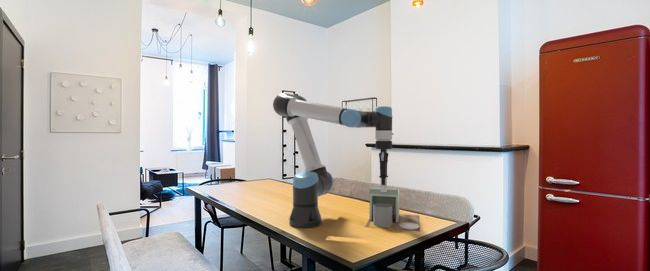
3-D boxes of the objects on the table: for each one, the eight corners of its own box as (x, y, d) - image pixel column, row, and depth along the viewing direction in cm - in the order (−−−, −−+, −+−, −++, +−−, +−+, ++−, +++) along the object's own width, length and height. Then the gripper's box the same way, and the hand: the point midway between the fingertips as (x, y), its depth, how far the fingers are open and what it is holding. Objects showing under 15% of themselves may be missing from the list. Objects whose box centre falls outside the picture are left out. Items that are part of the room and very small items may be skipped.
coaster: (398, 228, 137) (398, 227, 137) (399, 222, 145) (399, 221, 145) (419, 230, 135) (419, 229, 135) (419, 224, 143) (419, 223, 143)
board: (365, 230, 139) (365, 226, 139) (372, 215, 164) (372, 212, 164) (420, 234, 133) (420, 231, 133) (419, 218, 158) (419, 215, 158)
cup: (392, 231, 138) (392, 208, 138) (372, 229, 140) (372, 207, 140) (392, 225, 146) (392, 203, 146) (373, 224, 148) (373, 202, 148)
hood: (369, 220, 149) (369, 188, 149) (372, 213, 161) (373, 184, 161) (398, 222, 146) (398, 189, 145) (399, 215, 158) (399, 185, 157)
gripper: (390, 140, 139) (390, 194, 139) (393, 140, 151) (393, 189, 152) (373, 140, 141) (373, 193, 141) (377, 139, 154) (377, 188, 154)
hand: (383, 191), depth 147 cm, fingers closed
